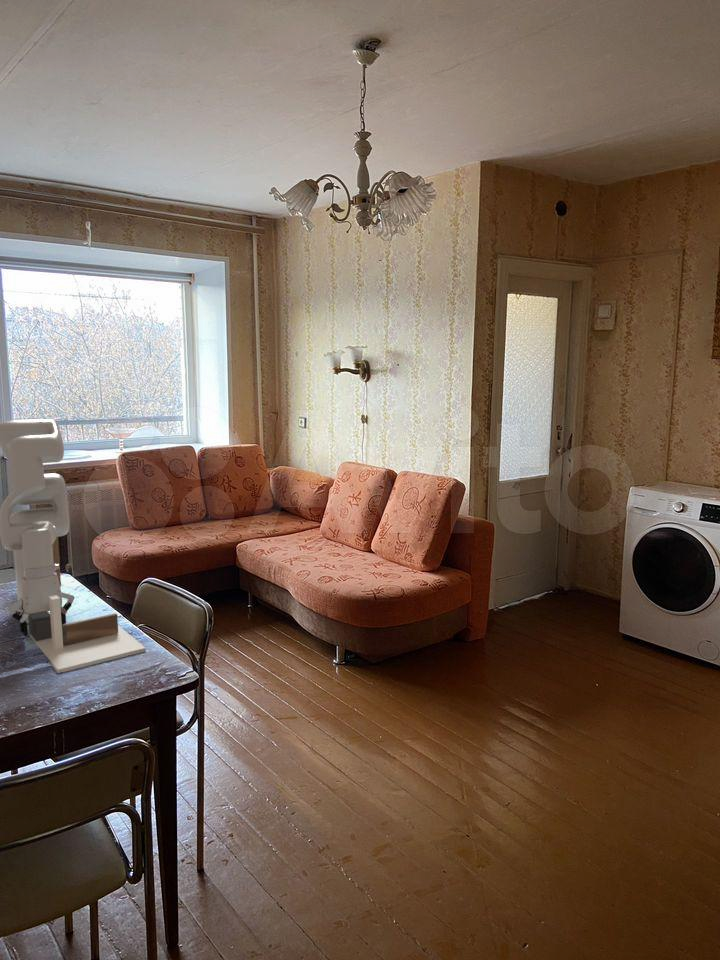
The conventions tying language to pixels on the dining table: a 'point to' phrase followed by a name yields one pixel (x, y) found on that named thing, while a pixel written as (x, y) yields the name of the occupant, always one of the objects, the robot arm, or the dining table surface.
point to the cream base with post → (83, 645)
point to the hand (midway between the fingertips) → (43, 630)
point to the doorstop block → (40, 626)
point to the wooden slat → (89, 629)
